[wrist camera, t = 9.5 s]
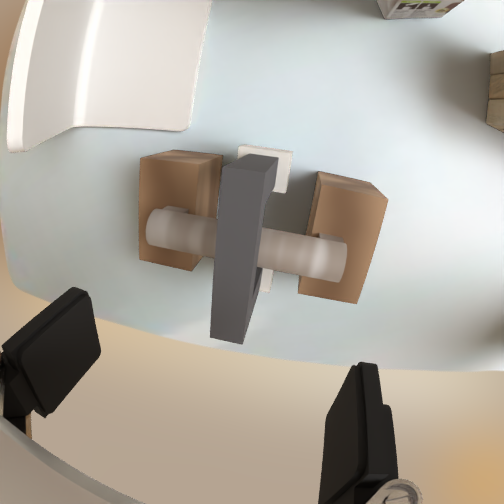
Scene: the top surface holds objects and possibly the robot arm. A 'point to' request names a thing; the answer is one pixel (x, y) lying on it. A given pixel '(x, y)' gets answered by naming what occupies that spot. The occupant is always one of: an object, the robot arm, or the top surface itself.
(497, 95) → the block tower
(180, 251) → the wooden handle frame
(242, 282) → the grey c-shaped block
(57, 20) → the tablet stand
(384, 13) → the coffee box
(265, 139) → the top surface
